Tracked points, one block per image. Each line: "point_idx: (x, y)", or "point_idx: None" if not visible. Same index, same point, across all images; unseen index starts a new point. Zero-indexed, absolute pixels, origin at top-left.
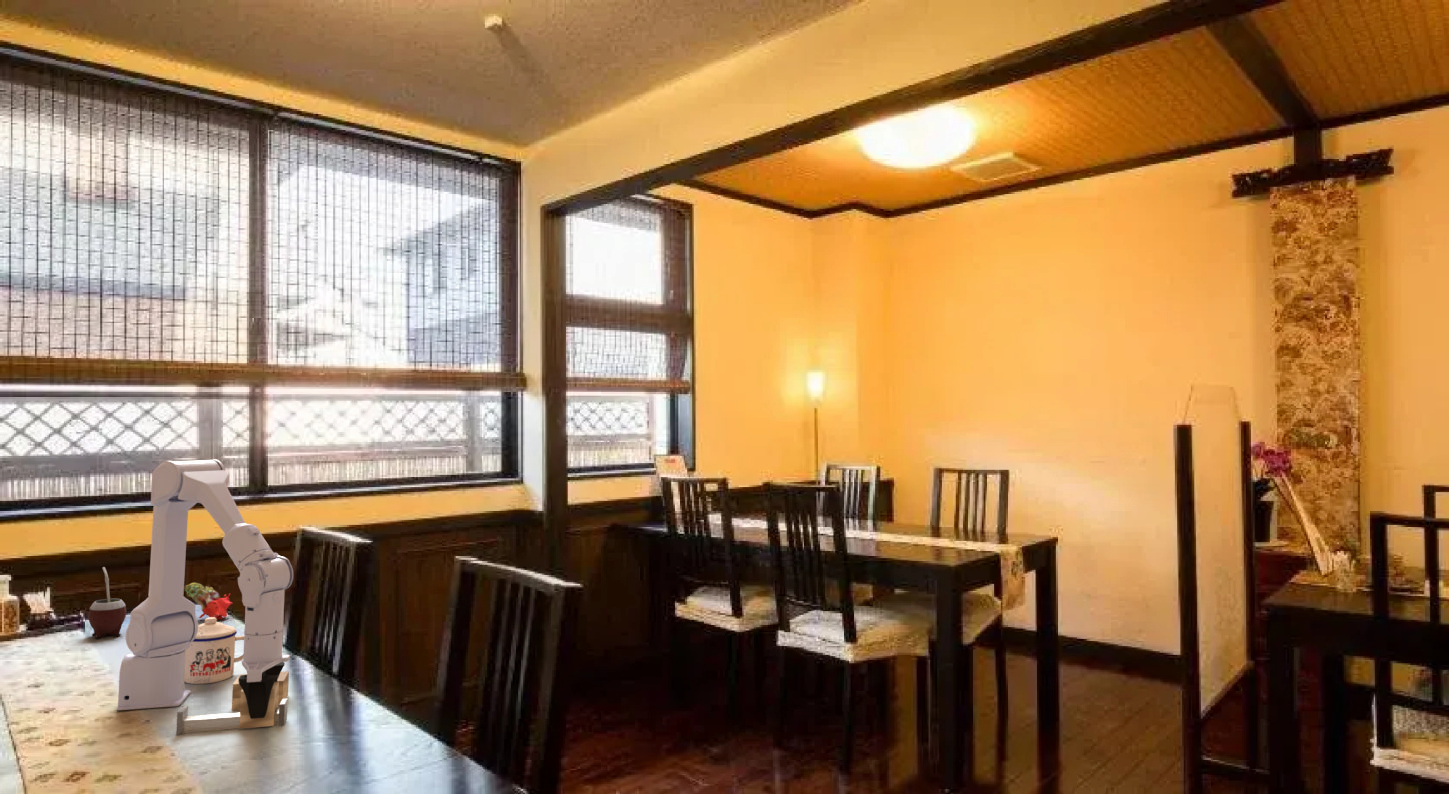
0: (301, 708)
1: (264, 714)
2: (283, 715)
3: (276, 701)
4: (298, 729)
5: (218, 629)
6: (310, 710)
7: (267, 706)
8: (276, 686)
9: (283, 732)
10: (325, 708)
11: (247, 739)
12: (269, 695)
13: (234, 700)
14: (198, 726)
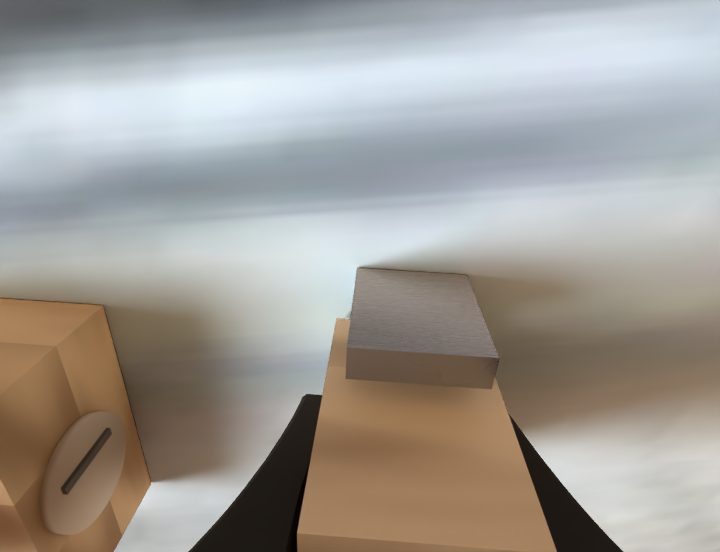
0: (145, 201)
1: (515, 424)
2: (478, 312)
3: (410, 411)
4: (574, 188)
5: None
6: (193, 139)
7: (527, 454)
8: (459, 543)
9: (584, 268)
10: (158, 25)
11: (597, 409)
12: (593, 537)
13: (125, 519)
14: None
